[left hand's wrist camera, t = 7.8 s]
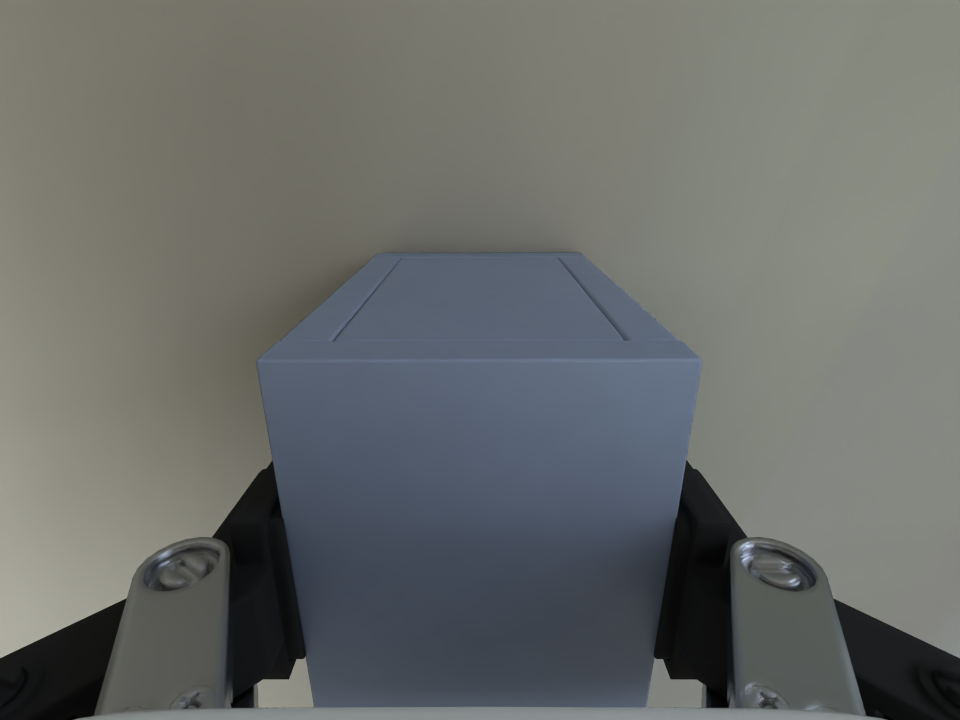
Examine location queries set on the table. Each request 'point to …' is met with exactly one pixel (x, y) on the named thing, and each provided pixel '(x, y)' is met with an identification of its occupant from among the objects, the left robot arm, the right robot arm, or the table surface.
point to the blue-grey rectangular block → (479, 481)
